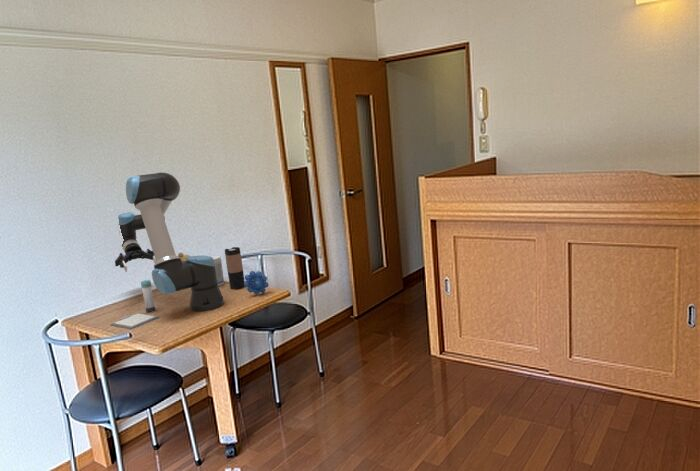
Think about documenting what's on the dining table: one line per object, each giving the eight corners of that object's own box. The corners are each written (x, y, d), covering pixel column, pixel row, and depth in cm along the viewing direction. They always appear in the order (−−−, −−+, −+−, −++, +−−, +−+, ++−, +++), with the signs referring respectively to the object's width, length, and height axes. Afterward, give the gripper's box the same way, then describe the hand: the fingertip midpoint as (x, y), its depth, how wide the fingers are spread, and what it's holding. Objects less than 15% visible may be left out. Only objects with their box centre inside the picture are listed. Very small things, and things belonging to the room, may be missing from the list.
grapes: (248, 299, 243) (244, 274, 240) (244, 296, 249) (241, 271, 246) (272, 294, 248) (269, 269, 245) (267, 290, 254) (264, 266, 251)
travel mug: (241, 289, 260) (236, 250, 256) (227, 290, 262) (221, 251, 258) (247, 284, 267) (242, 246, 264) (233, 285, 269) (228, 247, 265)
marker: (157, 309, 241) (152, 280, 238) (150, 312, 237) (144, 283, 235) (151, 308, 243) (146, 279, 240) (144, 311, 240) (138, 282, 237)
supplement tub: (203, 288, 269) (199, 260, 266) (208, 283, 278) (204, 256, 275) (222, 286, 268) (218, 259, 265) (226, 281, 278) (222, 254, 275)
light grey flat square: (158, 317, 230) (158, 314, 230) (131, 329, 218) (130, 326, 218) (138, 314, 237) (138, 311, 237) (110, 325, 226) (110, 322, 225)
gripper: (159, 252, 266) (170, 268, 250) (106, 261, 254) (113, 278, 237) (158, 238, 264) (168, 254, 247) (104, 246, 251) (111, 263, 234)
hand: (141, 266), depth 242 cm, fingers open, 13 cm apart
